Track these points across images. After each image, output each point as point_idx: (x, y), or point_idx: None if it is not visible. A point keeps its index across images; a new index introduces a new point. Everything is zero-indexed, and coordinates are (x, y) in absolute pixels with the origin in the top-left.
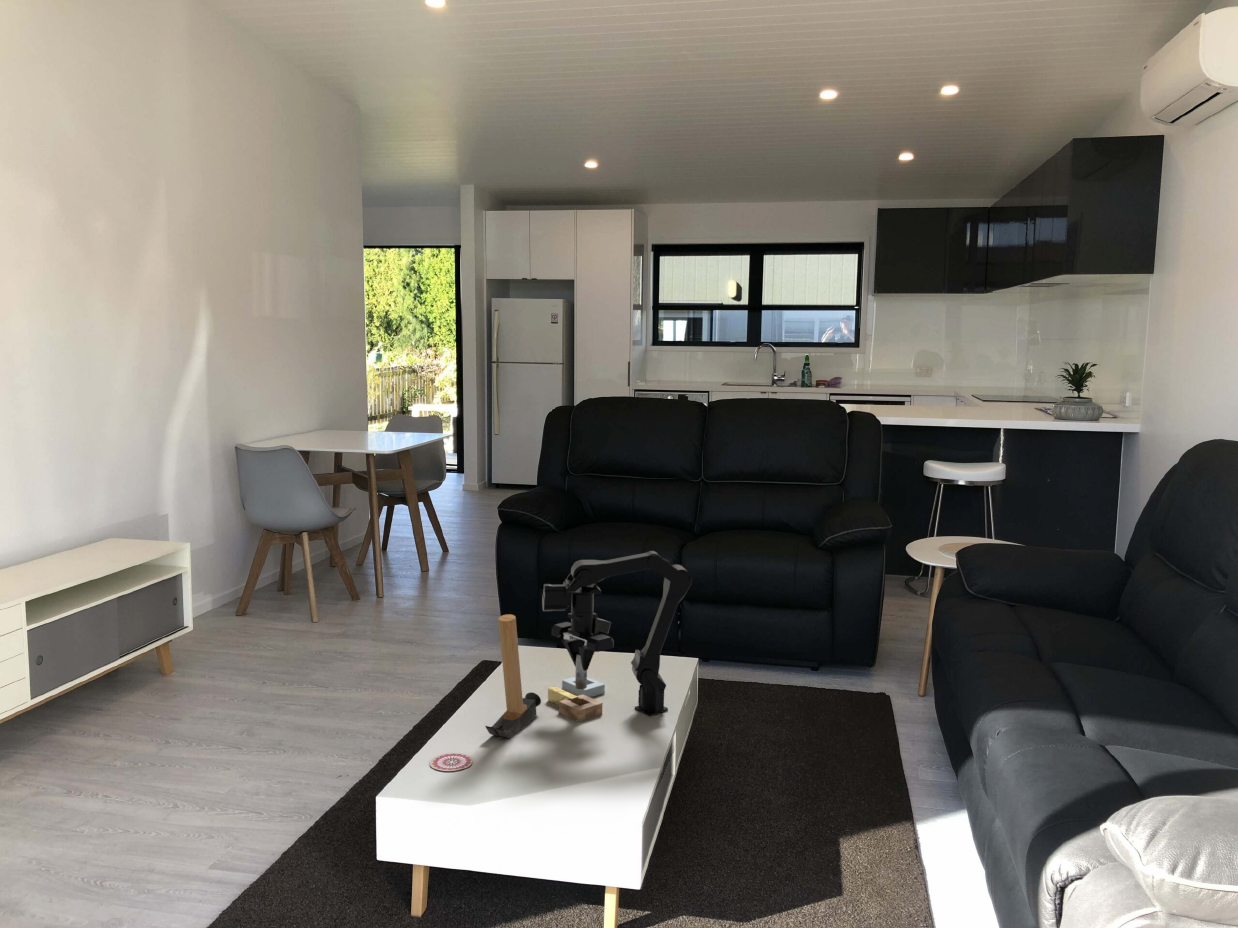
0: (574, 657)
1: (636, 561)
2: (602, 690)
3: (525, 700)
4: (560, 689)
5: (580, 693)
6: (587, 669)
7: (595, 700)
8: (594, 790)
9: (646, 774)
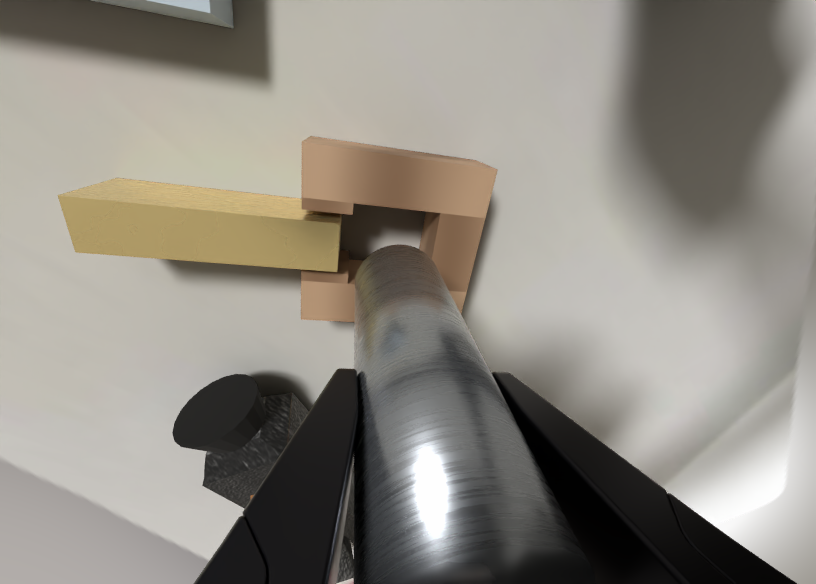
0: (340, 553)
1: None
2: None
3: (253, 476)
4: (149, 210)
5: (165, 11)
6: (508, 374)
7: (440, 168)
8: (687, 494)
9: (782, 397)
